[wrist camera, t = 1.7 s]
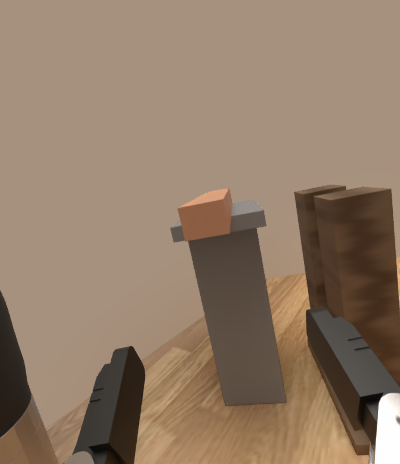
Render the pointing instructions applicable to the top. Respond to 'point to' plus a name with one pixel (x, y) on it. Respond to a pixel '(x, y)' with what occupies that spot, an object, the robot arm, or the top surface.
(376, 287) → the gate
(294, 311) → the top surface
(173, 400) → the top surface
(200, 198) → the beam
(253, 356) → the pedestal
